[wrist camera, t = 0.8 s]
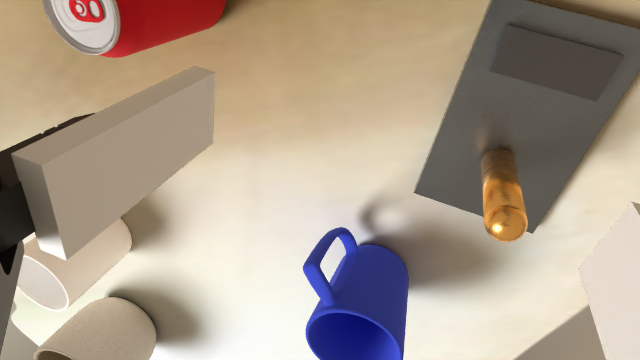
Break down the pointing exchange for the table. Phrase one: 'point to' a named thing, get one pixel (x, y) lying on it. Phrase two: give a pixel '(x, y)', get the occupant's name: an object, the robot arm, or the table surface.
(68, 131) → the robot arm
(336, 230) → the mug
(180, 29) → the beverage can
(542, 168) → the keeper
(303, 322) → the table surface
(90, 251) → the mug
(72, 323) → the planter
